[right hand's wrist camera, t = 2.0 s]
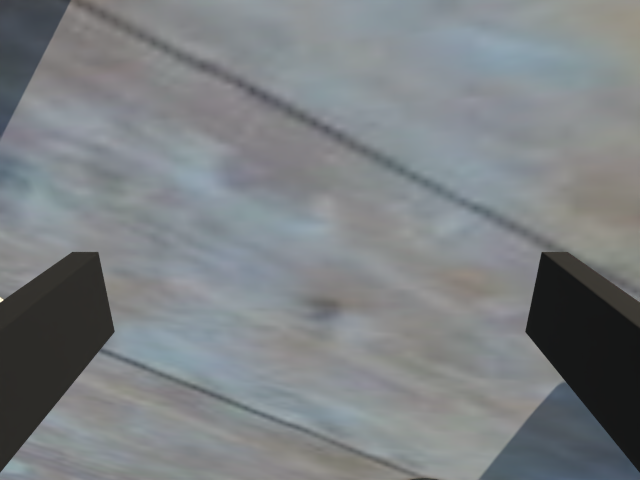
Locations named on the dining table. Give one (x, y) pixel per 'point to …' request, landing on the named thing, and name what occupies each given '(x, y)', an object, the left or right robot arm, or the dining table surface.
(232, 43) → the dining table surface
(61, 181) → the dining table surface
